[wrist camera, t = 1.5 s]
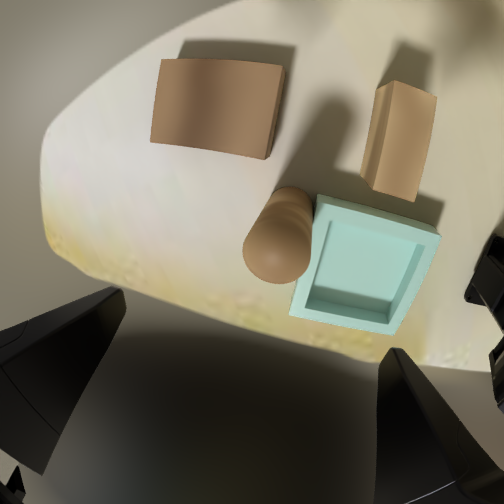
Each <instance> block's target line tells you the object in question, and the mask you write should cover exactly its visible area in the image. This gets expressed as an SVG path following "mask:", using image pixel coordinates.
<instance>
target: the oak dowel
mask: <svg viewBox="0 0 504 504" xmlns="http://www.w3.org/2000/svg"><path fill="white" fill-rule="evenodd" d="M312 227H313V204H312V201H311V199H310V197H309V196H308V195H307V194H306V193H305V192H304V191H303V190H301V189H299V188H296V187H283V188H280V189H278V190H277V191H275V192H274V193H273V194H272V196H271V197H270V199H269V200H268V202H267V204H266V205H265V207H264V209H263V210H262V212H261V213H260V215H259V217H258V218H257V220H256V222H255V223H254V225H253V227H252V228H251V230H250V232H249V233H248V235H247V237H246V239H245V241H244V244H243V258H244V261H245V263H246V265H247V267H248V269H249V270H250V271H251V272H252V273H253V274H254V275H255V276H256V277H258V278H259V279H261V280H263V281H266V282H269V283H274V284H285V283H289V282H292V281H295V280H296V279H298V278H299V277H301V276H302V275H303V274H304V273H305V271H306V270H307V268H308V266H309V264H310V260H311V246H312Z"/></svg>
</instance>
